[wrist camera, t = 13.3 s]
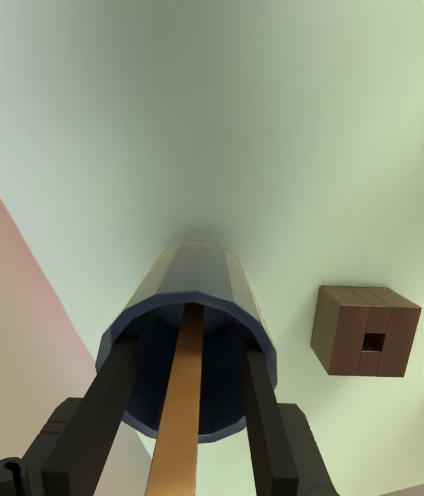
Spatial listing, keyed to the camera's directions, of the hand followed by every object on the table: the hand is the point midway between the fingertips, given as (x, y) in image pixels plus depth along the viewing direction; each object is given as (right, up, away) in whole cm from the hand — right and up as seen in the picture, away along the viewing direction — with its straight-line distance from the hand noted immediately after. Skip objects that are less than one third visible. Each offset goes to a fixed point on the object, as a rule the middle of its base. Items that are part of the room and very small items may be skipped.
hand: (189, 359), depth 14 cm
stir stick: (0, +2, +8) cm, 8 cm away
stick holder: (+18, -3, +18) cm, 25 cm away
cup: (0, +2, +9) cm, 9 cm away
